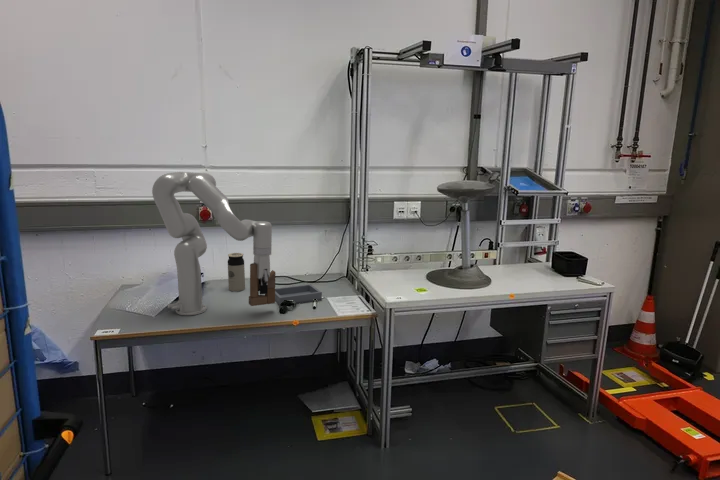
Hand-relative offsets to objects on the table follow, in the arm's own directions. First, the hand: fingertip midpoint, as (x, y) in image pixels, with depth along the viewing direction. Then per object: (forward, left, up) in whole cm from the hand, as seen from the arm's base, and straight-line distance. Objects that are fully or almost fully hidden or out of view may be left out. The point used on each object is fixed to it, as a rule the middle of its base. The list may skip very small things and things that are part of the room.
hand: (262, 291), depth 207 cm
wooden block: (0, 0, -6) cm, 6 cm away
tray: (+20, +13, -10) cm, 25 cm away
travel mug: (-2, +39, -10) cm, 40 cm away
